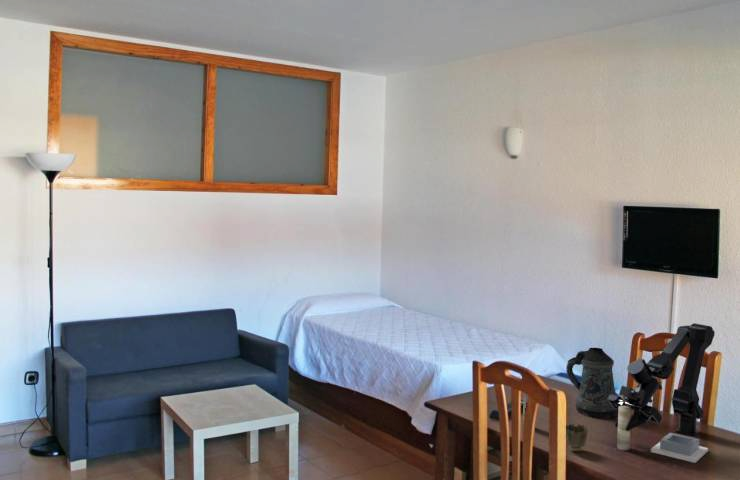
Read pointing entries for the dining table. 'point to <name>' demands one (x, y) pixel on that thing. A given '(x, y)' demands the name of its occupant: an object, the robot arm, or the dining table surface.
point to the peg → (623, 428)
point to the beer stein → (593, 383)
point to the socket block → (680, 447)
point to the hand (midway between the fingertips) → (621, 428)
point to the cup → (576, 436)
